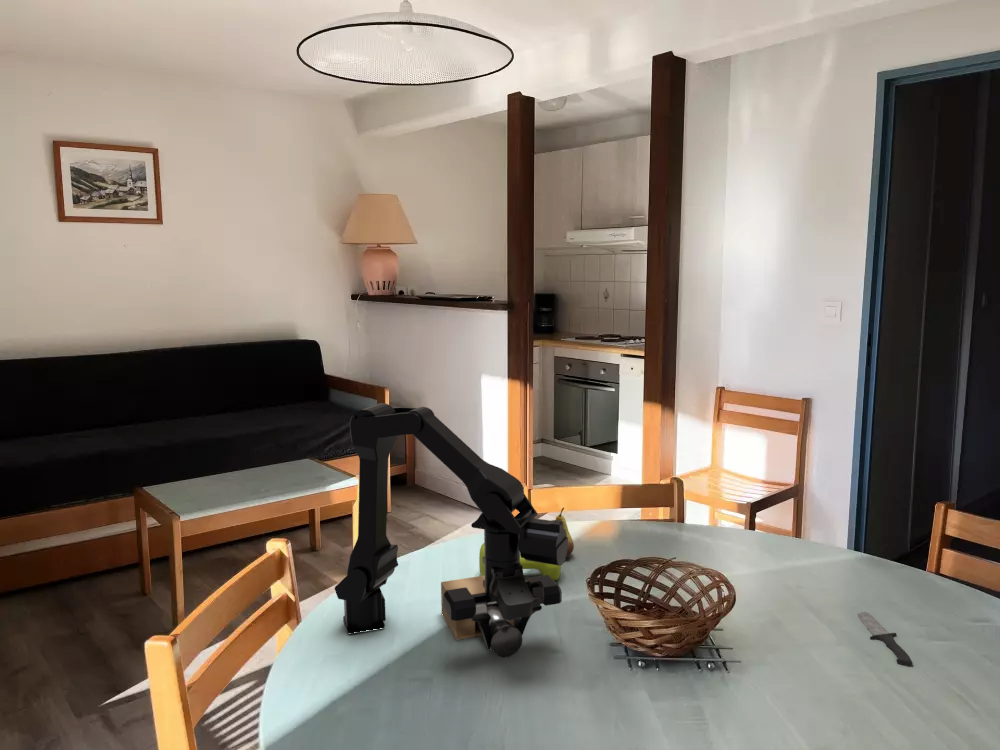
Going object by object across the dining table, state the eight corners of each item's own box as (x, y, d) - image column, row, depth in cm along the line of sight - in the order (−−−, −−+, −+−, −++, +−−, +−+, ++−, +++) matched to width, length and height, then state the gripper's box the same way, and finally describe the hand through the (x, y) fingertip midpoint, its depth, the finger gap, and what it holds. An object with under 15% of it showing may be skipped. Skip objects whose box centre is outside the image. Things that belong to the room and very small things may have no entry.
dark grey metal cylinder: (492, 660, 122) (491, 629, 122) (466, 619, 136) (465, 592, 135) (522, 654, 124) (522, 624, 123) (493, 614, 138) (493, 587, 137)
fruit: (578, 555, 166) (578, 501, 164) (566, 564, 161) (566, 509, 159) (555, 550, 169) (555, 497, 167) (543, 558, 164) (543, 505, 162)
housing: (456, 639, 130) (455, 605, 129) (441, 614, 139) (441, 582, 138) (522, 628, 134) (522, 594, 133) (503, 603, 143) (503, 572, 142)
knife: (837, 601, 142) (865, 601, 142) (837, 606, 143) (865, 606, 142) (893, 660, 120) (926, 661, 120) (893, 667, 120) (926, 667, 120)
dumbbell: (558, 569, 159) (558, 536, 158) (562, 585, 151) (563, 551, 150) (479, 571, 158) (478, 538, 157) (479, 587, 150) (479, 553, 149)
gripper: (460, 584, 112) (461, 682, 115) (576, 566, 118) (575, 660, 121) (441, 556, 123) (442, 646, 125) (548, 541, 129) (548, 627, 131)
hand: (502, 645), depth 125 cm, fingers closed on dark grey metal cylinder, 4 cm apart
